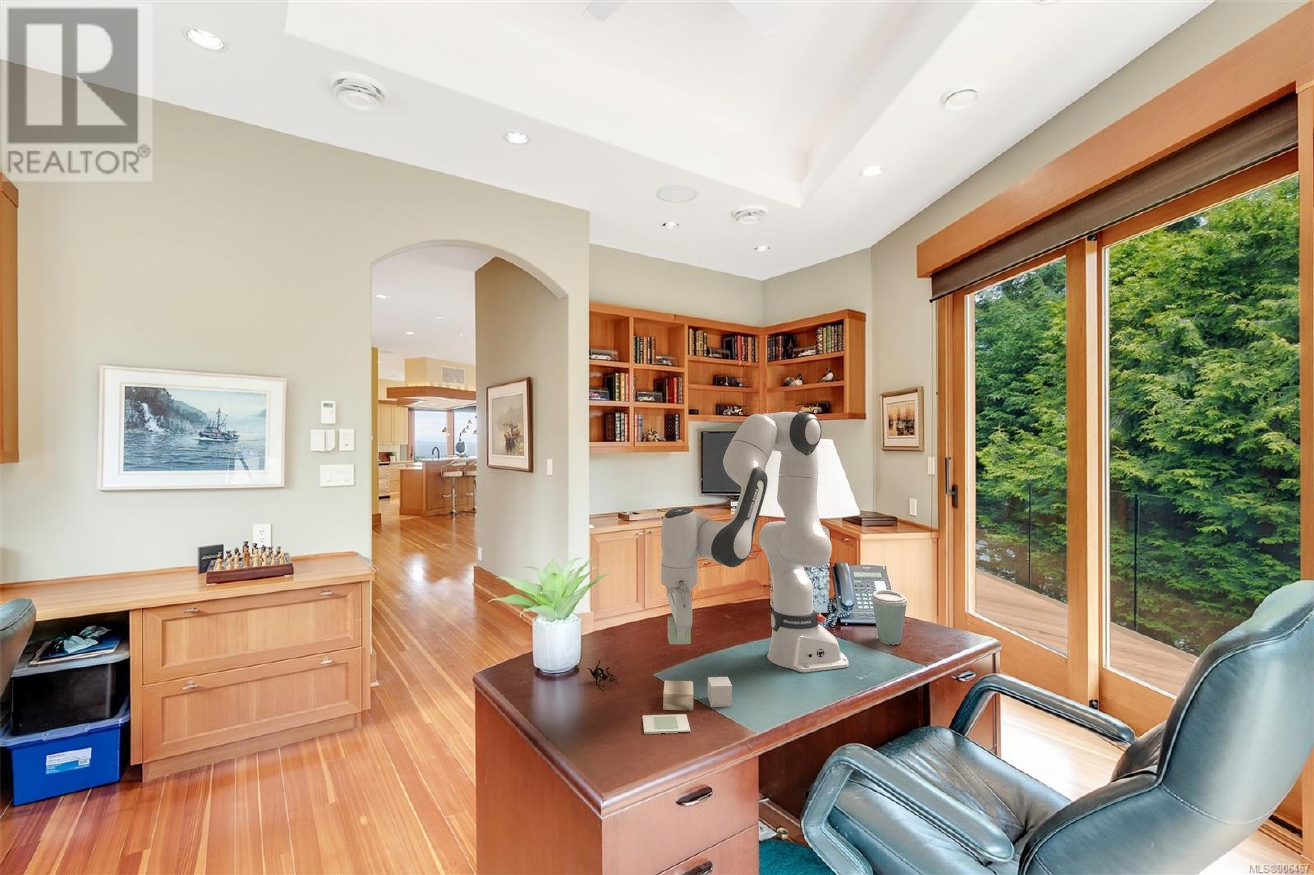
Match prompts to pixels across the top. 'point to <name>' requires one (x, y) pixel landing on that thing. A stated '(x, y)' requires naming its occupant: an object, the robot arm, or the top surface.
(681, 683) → the birch block
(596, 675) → the creature
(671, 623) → the sage cube
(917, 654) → the top surface
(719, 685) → the grey cube
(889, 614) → the disposable coffee cup
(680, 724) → the tile
